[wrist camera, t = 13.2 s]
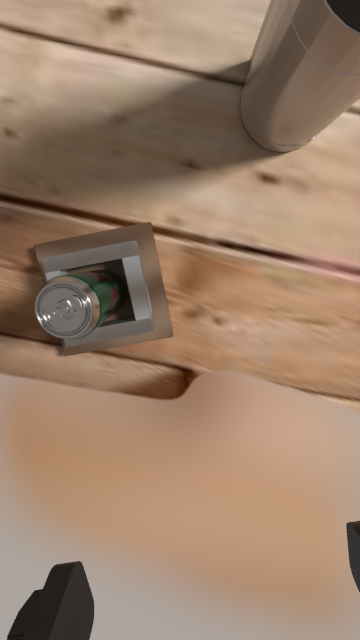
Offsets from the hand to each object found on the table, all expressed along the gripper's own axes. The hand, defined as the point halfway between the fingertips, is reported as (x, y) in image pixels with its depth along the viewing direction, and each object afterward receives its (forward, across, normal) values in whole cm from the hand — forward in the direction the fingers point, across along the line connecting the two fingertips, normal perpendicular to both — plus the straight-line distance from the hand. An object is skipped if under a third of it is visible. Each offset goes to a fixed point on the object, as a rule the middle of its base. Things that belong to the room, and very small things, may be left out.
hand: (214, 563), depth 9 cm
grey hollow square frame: (+28, +8, -7) cm, 30 cm away
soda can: (+27, +9, -7) cm, 29 cm away
